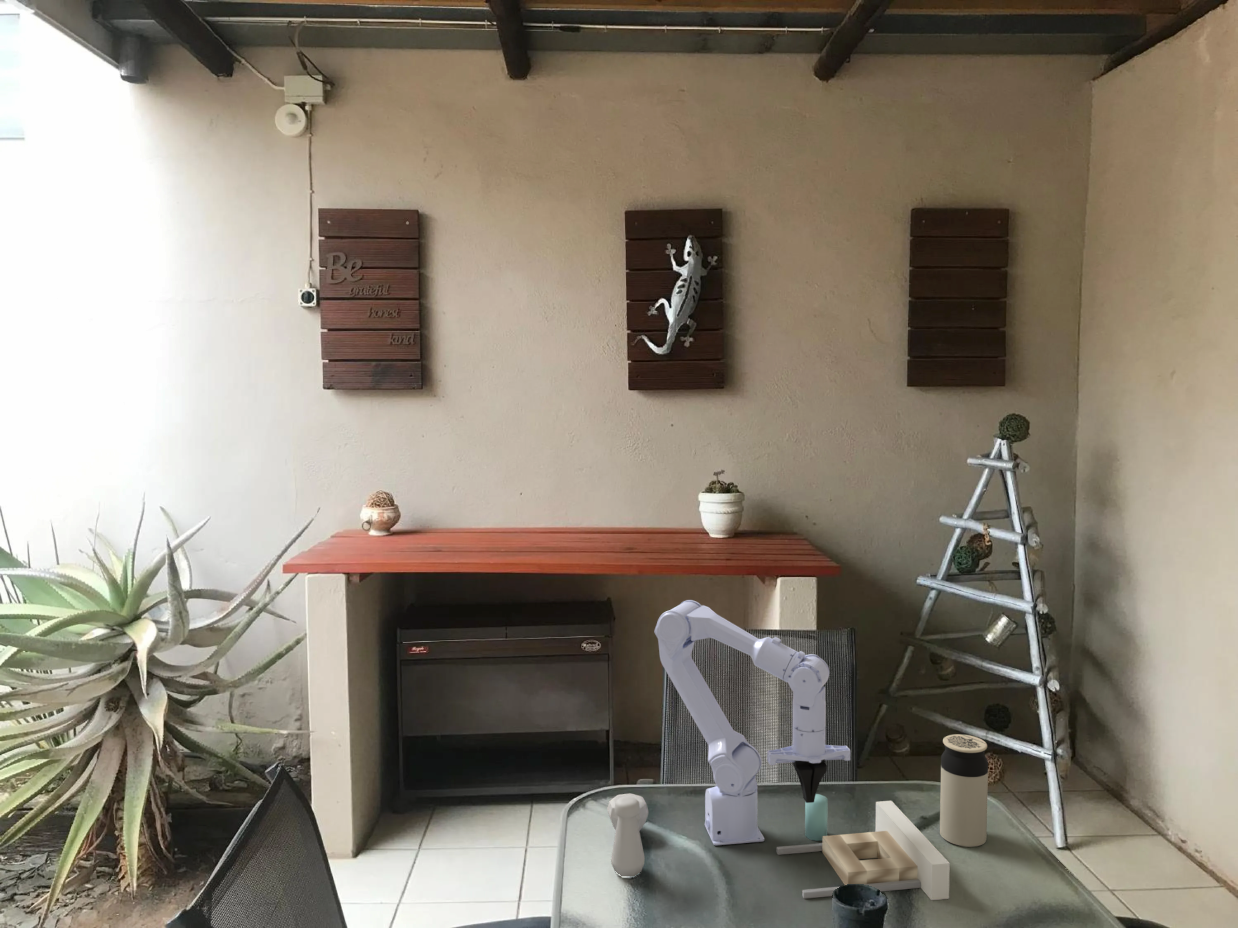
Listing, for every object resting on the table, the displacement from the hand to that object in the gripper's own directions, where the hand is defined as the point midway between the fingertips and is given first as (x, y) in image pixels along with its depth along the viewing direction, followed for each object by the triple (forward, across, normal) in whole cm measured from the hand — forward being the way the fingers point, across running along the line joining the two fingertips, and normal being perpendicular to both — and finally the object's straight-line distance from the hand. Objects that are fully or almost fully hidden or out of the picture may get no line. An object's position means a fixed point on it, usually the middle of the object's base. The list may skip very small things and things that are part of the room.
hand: (808, 799), depth 162 cm
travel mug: (+9, +29, 0) cm, 31 cm away
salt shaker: (+9, -33, -3) cm, 34 cm away
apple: (+10, -31, +11) cm, 34 cm away
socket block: (+9, +8, -7) cm, 14 cm away
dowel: (+9, +3, +5) cm, 11 cm away
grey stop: (+9, +6, -7) cm, 13 cm away
